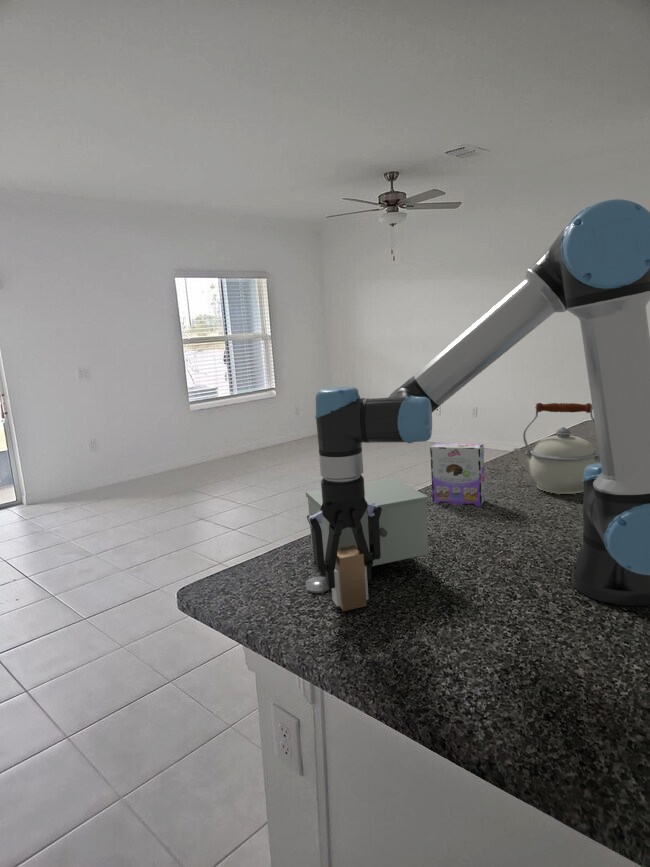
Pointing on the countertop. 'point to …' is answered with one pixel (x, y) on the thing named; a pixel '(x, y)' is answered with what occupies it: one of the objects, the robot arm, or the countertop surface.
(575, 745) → the countertop surface
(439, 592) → the countertop surface
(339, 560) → the block
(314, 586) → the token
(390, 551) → the cabinet
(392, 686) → the countertop surface
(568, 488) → the kettle
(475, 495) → the candy box
